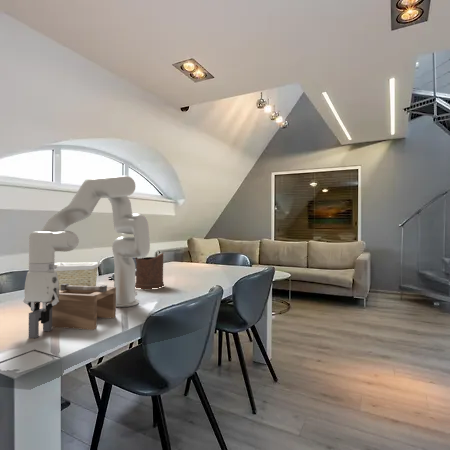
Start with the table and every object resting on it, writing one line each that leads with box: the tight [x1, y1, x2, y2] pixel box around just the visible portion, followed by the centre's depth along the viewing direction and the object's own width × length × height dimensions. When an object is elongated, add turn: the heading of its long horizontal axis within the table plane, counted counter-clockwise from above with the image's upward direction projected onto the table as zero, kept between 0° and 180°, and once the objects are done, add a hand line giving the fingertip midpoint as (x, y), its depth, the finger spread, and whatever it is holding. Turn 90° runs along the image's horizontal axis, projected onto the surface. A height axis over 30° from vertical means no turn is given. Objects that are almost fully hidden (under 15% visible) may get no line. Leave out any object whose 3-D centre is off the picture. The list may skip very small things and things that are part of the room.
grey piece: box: [28, 307, 53, 339], centre depth 106 cm, size 8×2×8 cm, turn 172°
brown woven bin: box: [135, 252, 165, 289], centre depth 189 cm, size 18×24×25 cm
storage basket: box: [54, 261, 99, 290], centre depth 180 cm, size 24×16×15 cm
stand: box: [51, 284, 117, 331], centre depth 120 cm, size 16×18×14 cm
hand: (40, 321), depth 106 cm, fingers closed on grey piece, 2 cm apart
